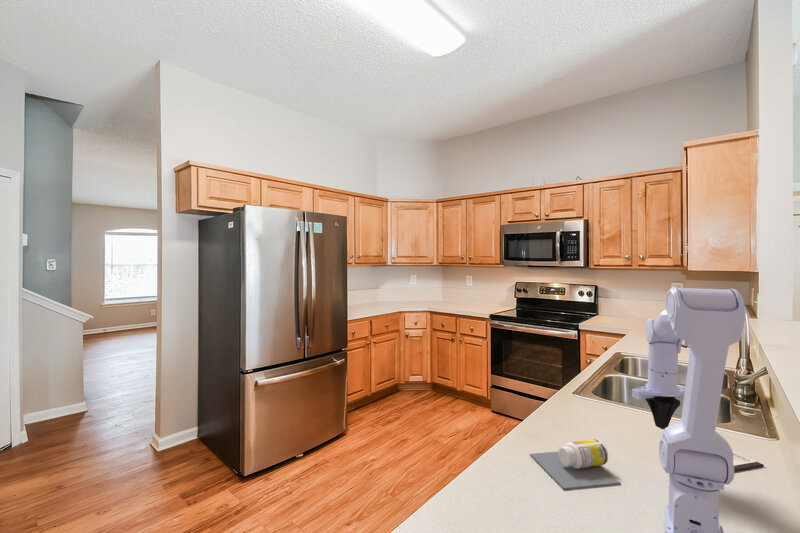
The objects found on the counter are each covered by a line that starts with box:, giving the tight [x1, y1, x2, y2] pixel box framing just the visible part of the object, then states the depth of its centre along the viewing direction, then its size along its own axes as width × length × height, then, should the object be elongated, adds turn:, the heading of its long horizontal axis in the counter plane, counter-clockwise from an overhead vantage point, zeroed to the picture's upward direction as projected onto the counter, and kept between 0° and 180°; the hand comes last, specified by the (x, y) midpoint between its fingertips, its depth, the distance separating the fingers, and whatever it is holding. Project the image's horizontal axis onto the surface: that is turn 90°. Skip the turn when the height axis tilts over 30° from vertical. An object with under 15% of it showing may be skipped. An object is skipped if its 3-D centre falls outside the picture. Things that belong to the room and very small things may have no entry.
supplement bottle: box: [557, 438, 609, 469], centre depth 87 cm, size 6×6×10 cm
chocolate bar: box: [732, 450, 764, 473], centre depth 90 cm, size 9×1×18 cm
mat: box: [529, 451, 621, 491], centre depth 86 cm, size 14×14×1 cm
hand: (661, 427), depth 88 cm, fingers closed
